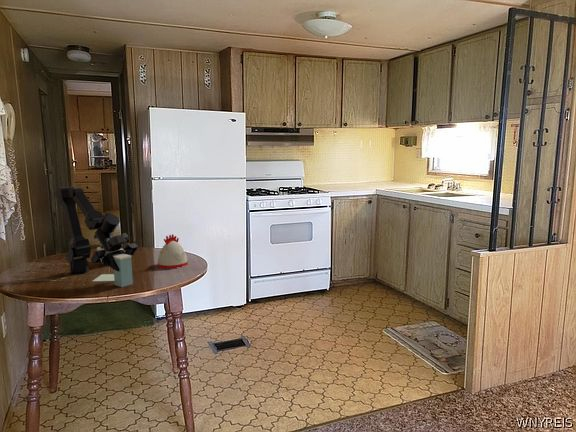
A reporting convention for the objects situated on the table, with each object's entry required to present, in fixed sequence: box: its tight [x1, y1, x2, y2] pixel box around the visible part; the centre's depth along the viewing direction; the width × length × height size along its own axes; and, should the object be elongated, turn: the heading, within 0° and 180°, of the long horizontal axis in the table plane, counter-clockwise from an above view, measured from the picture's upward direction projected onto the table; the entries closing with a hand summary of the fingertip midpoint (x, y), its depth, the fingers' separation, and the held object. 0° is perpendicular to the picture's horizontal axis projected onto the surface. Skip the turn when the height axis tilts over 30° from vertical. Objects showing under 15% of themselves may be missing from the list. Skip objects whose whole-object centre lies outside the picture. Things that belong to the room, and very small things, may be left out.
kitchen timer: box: [157, 234, 189, 269], centre depth 202 cm, size 14×14×15 cm
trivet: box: [91, 273, 115, 282], centre depth 183 cm, size 10×10×1 cm
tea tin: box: [113, 254, 134, 288], centre depth 172 cm, size 5×5×12 cm
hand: (124, 269), depth 171 cm, fingers closed on tea tin, 5 cm apart
